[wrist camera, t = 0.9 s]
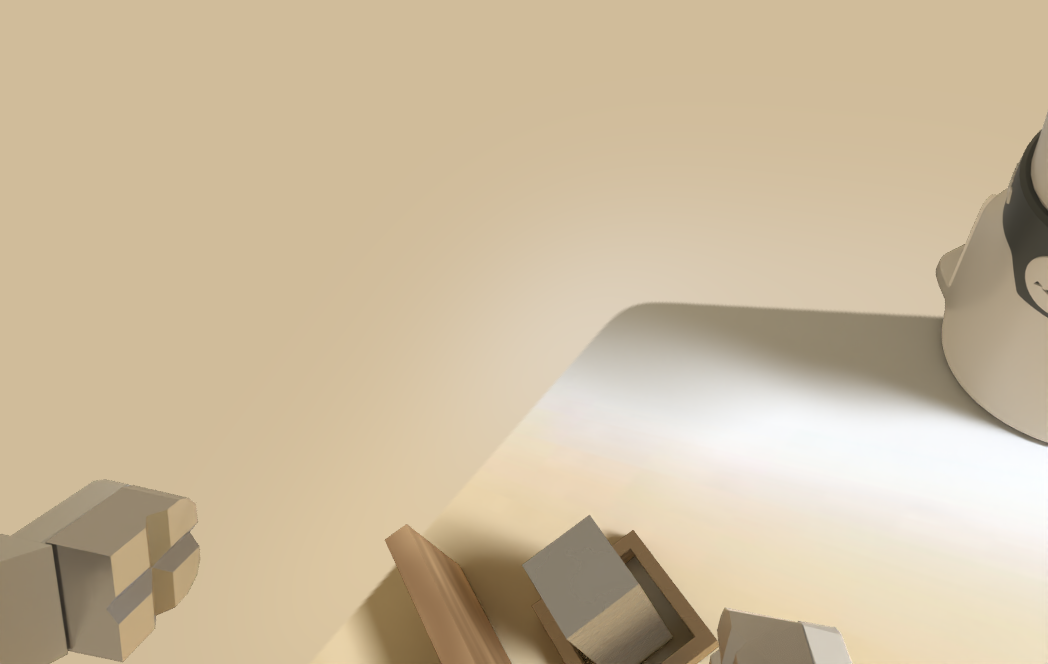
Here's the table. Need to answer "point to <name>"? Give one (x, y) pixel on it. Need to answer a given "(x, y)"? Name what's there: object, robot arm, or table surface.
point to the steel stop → (596, 597)
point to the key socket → (630, 546)
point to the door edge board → (445, 602)
